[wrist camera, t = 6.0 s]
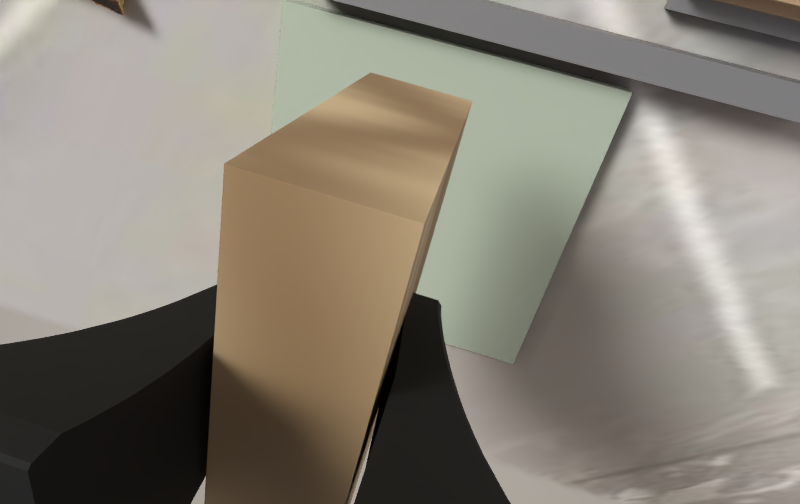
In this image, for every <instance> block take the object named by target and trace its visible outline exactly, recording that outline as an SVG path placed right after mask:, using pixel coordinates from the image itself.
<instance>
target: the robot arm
mask: <svg viewBox="0 0 800 504" xmlns="http://www.w3.org/2000/svg"><path fill="white" fill-rule="evenodd" d="M216 297H217V285H215V286H213V287H210V288H208V289H205V290H203V291H201V292H198V293H196V294H193V295H191V296H189V297H186V298H184V299H182V300H179V301H177V302H174V303H171V304H169V305H166V306H163V307H160V308H157V309H155V310H151V311H148V312H145V313H142V314H139V315H136V316H133V317H129V318H126V319H122V320H119V321H115V322H111V323H107V324H103V325H99V326H95V327H91V328H87V329H83V330H79V331H75V332H70V333H65V334H60V335H55V336H50V337H45V338H39V339H33V340H27V341H21V342H15V343H9V344H3V345H0V504H191V502H192V500H193V497H194V496H195V494H196V493H197V491H198V489H199V487H200V485H201V484H202V482H203V480H204V478H205V476H206V469H207V452H208V435H209V417H210V400H211V383H212V366H213V349H214V332H215V315H216ZM354 504H511V503H510V502H509V500H508V499H507V497H506V495H505V493H504V491H503V490H502V488H501V486H500V484H499V482H498V481H497V479H496V477H495V475H494V473H493V472H492V470H491V468H490V466H489V464H488V462H487V461H486V459H485V457H484V455H483V453H482V451H481V449H480V446H479V444H478V442H477V440H476V438H475V436H474V434H473V431H472V429H471V426H470V424H469V422H468V419H467V417H466V414H465V412H464V409H463V406H462V403H461V401H460V398H459V395H458V392H457V388H456V385H455V382H454V379H453V375H452V372H451V368H450V364H449V359H448V355H447V351H446V346H445V341H444V335H443V328H442V319H441V304H440V302H439V301H438V300H436V299H433V298H429V297H426V296H423V295H420V294H417V293H413V295H412V298H411V301H410V303H409V306H408V309H407V312H406V314H405V318H404V321H403V325H402V328H401V332H400V335H399V338H398V342H397V345H396V349H395V352H394V356H393V359H392V363H391V366H390V370H389V373H388V377H387V380H386V383H385V387H384V390H383V394H382V397H381V401H380V404H379V408H378V413H377V417H376V422H375V427H374V431H373V436H372V441H371V445H370V450H369V455H368V459H367V464H366V469H365V472H364V475H363V478H362V481H361V484H360V487H359V490H358V493H357V497H356V499H355V503H354Z"/></svg>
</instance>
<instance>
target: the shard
mask: <svg viewBox="0 0 800 504" xmlns="http://www.w3.org/2000/svg"><path fill="white" fill-rule="evenodd" d="M92 1H94V2H95V3H96V4H97V5H101V6H103V7H106V8H108V9H111V10H113V11H115V12H117V13H119V14H122V15H123V12H124V9H123V5H124V0H92Z"/></svg>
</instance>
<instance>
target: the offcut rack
mask: <svg viewBox="0 0 800 504" xmlns="http://www.w3.org/2000/svg"><path fill="white" fill-rule="evenodd" d="M334 1H338V2H341V3H345V4H349V5H353V6H357V7H360V8H364V9H368V10H372V11H376V12H379V13H383V14H387V15H391V16H395V17H398V18H402V19H406V20H410V21H414V22H417V23H421V24H425V25H429V26H433V27H436V28H440V29H444V30H448V31H452V32H455V33H459V34H463V35H467V36H471V37H475V38H478V39H482V40H486V41H490V42H494V43H497V44H501V45H505V46H509V47H513V48H516V49H520V50H524V51H528V52H532V53H535V54H539V55H543V56H547V57H551V58H554V59H558V60H562V61H566V62H570V63H573V64H577V65H581V66H585V67H589V68H592V69H596V70H600V71H604V72H608V73H611V74H615V75H619V76H623V77H627V78H630V79H634V80H638V81H642V82H646V83H649V84H653V85H657V86H661V87H665V88H669V89H672V90H676V91H680V92H684V93H688V94H691V95H695V96H699V97H703V98H707V99H710V100H714V101H718V102H722V103H726V104H729V105H733V106H737V107H741V108H745V109H748V110H752V111H756V112H760V113H764V114H767V115H771V116H775V117H779V118H783V119H786V120H790V121H794V122H798V123H800V81H799V80H795V79H791V78H787V77H783V76H779V75H775V74H772V73H768V72H764V71H760V70H756V69H752V68H748V67H744V66H740V65H737V64H733V63H729V62H725V61H721V60H717V59H713V58H709V57H705V56H702V55H698V54H694V53H690V52H686V51H682V50H678V49H674V48H670V47H667V46H663V45H659V44H655V43H651V42H647V41H643V40H639V39H635V38H632V37H628V36H624V35H620V34H616V33H612V32H608V31H604V30H600V29H596V28H593V27H589V26H585V25H581V24H577V23H573V22H569V21H565V20H561V19H558V18H554V17H550V16H546V15H542V14H538V13H534V12H530V11H526V10H523V9H519V8H515V7H511V6H507V5H503V4H499V3H495V2H491V1H488V0H334ZM665 9H669V10H673V11H677V12H681V13H685V14H689V15H693V16H697V17H701V18H704V19H708V20H712V21H716V22H720V23H724V24H728V25H732V26H736V27H740V28H744V29H748V30H752V31H756V32H760V33H764V34H768V35H772V36H776V37H780V38H784V39H788V40H792V41H796V42H800V0H668V1H667V3H666V6H665Z"/></svg>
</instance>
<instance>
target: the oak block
mask: <svg viewBox="0 0 800 504" xmlns="http://www.w3.org/2000/svg"><path fill="white" fill-rule="evenodd" d="M471 104H472V101H471V100H467V99H464V98H460V97H456V96H453V95H449V94H446V93H442V92H439V91H435V90H432V89H428V88H424V87H421V86H417V85H414V84H410V83H407V82H403V81H400V80H396V79H392V78H389V77H385V76H382V75H378V74H375V73H371V72H370V73H369V74H367V75H366V76H364V77H362V78H361V79H359V80H358V81H356V82H354V83H353V84H351V85H350V86H348V87H346V88H345V89H343V90H342V91H340V92H338V93H337V94H335V95H334V96H332V97H330V98H329V99H327V100H326V101H324V102H322V103H321V104H319V105H318V106H316V107H314V108H313V109H311V110H310V111H308V112H306V113H305V114H303V115H302V116H300V117H298V118H297V119H295V120H294V121H292V122H290V123H289V124H287V125H286V126H284V127H282V128H281V129H279V130H278V131H276V132H274V133H273V134H271V135H270V136H268V137H266V138H265V139H263V140H262V141H260V142H258V143H257V144H255V145H254V146H252V147H250V148H249V149H247V150H246V151H244V152H242V153H241V154H239V155H238V156H236V157H234V158H233V159H231V160H230V161H228V162H226V163H225V164H224V178H223V195H222V212H221V229H220V246H219V263H218V280H217V297H216V315H215V332H214V349H213V366H212V383H211V400H210V417H209V435H208V452H207V469H206V487H205V503H204V504H350V503H351V500H352V497H353V493H354V490H355V487H356V484H357V481H358V478H359V475H360V472H361V469H362V466H363V463H364V460H365V456H366V453H367V450H368V447H369V444H370V441H371V438H372V435H373V431H374V427H375V422H376V417H377V413H378V408H379V404H380V401H381V397H382V394H383V390H384V387H385V383H386V380H387V377H388V373H389V370H390V366H391V363H392V359H393V356H394V352H395V349H396V345H397V342H398V338H399V335H400V332H401V328H402V325H403V321H404V318H405V314H406V312H407V309H408V306H409V303H410V301H411V298H412V295H413V293H416V291H417V288H418V284H419V281H420V278H421V274H422V271H423V267H424V264H425V261H426V257H427V254H428V250H429V247H430V244H431V240H432V237H433V233H434V230H435V227H436V223H437V220H438V216H439V213H440V210H441V206H442V203H443V200H444V196H445V193H446V189H447V186H448V183H449V179H450V176H451V172H452V169H453V166H454V162H455V159H456V155H457V152H458V149H459V145H460V142H461V138H462V135H463V132H464V128H465V125H466V121H467V118H468V115H469V111H470V108H471Z"/></svg>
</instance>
